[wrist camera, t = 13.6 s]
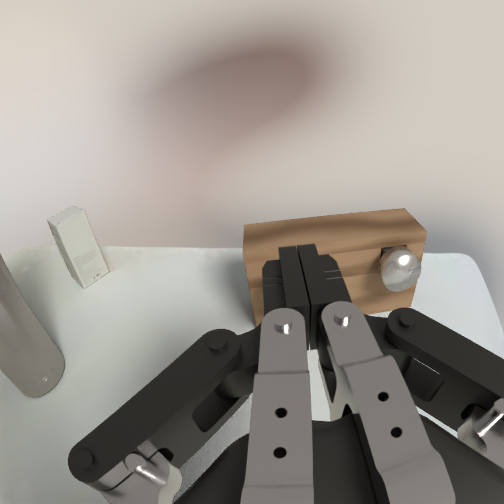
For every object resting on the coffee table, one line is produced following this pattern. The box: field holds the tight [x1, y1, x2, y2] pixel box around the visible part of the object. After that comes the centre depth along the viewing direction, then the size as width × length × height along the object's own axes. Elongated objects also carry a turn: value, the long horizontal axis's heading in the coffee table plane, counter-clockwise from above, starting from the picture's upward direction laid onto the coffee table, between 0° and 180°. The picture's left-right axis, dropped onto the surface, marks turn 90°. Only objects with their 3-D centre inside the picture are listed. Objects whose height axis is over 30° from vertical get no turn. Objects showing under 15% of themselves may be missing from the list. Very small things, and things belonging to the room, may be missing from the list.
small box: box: [47, 206, 109, 288], centre depth 48 cm, size 8×6×13 cm
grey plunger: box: [378, 246, 421, 291], centre depth 32 cm, size 12×4×4 cm, turn 0°
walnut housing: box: [243, 208, 427, 327], centre depth 34 cm, size 6×20×11 cm, turn 90°
